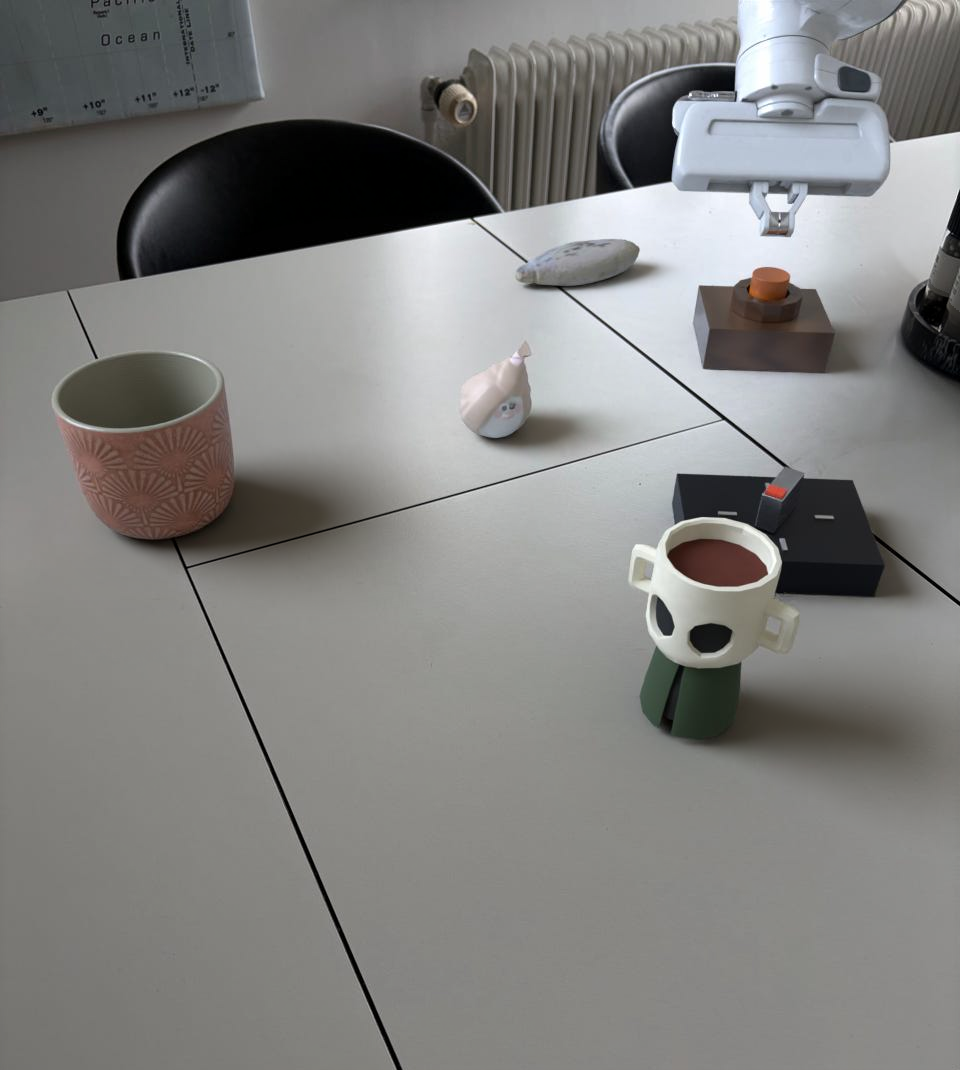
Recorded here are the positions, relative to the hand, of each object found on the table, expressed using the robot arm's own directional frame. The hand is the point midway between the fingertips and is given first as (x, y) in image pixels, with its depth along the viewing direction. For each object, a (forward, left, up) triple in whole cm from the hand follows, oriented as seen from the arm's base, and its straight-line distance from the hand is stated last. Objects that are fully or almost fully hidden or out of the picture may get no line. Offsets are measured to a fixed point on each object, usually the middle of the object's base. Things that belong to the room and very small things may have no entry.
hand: (776, 234), depth 100 cm
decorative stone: (+18, -15, -11) cm, 26 cm away
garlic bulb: (+26, +19, -11) cm, 34 cm away
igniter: (0, +1, -11) cm, 11 cm away
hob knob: (+4, +35, -8) cm, 36 cm away
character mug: (+12, +53, -11) cm, 56 cm away
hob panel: (+4, +35, -11) cm, 37 cm away
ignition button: (0, +1, -5) cm, 6 cm away
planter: (+52, +33, -11) cm, 63 cm away
